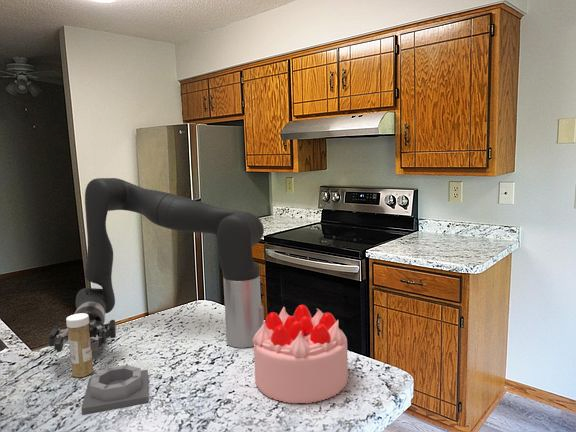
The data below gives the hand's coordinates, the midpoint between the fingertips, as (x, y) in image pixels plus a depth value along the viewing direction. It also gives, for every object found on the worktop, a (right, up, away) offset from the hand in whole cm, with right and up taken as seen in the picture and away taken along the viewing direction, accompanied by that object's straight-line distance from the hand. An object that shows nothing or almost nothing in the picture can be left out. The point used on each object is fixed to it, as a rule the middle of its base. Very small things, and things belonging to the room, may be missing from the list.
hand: (79, 344), depth 100 cm
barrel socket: (+11, -8, -7) cm, 15 cm away
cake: (+49, -7, -4) cm, 49 cm away
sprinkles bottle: (0, -7, +2) cm, 7 cm away
